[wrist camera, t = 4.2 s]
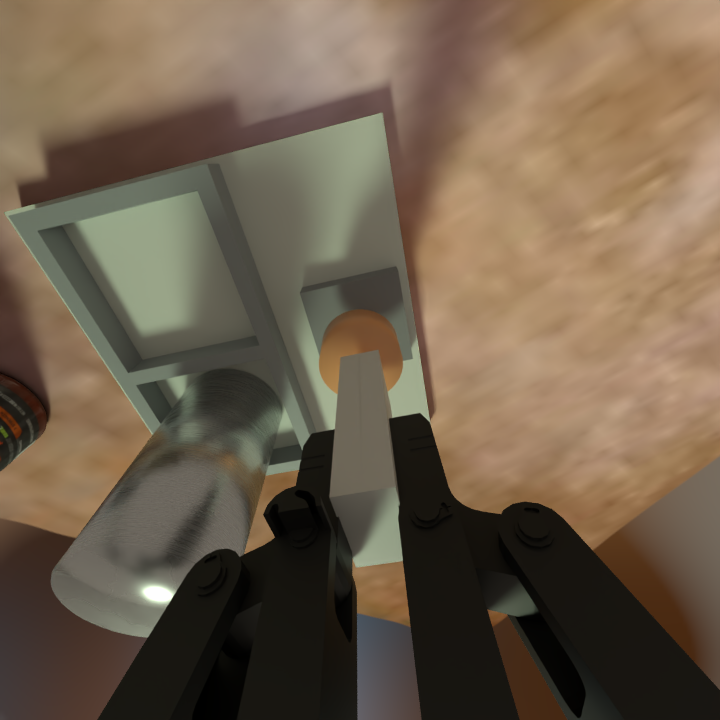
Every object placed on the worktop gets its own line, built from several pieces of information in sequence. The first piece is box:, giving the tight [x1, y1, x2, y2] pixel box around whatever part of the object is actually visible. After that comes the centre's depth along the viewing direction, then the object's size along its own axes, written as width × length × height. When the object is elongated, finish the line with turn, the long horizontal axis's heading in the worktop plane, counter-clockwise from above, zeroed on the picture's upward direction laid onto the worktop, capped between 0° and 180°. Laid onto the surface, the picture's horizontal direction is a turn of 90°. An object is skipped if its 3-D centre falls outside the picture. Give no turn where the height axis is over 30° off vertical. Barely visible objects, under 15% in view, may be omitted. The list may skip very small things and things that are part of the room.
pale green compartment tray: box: [4, 113, 431, 475], centre depth 20 cm, size 18×18×2 cm
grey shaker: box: [51, 368, 282, 637], centre depth 17 cm, size 6×6×11 cm
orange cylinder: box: [319, 309, 403, 394], centre depth 16 cm, size 4×4×2 cm
